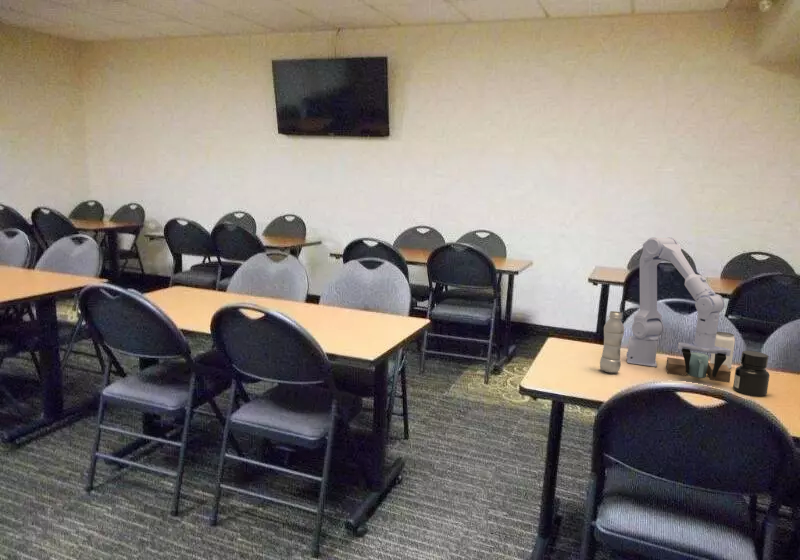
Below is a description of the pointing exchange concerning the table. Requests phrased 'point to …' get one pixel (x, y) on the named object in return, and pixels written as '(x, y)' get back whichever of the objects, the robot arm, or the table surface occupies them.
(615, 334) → the plastic bottle
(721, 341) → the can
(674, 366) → the rack
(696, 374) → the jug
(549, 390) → the table surface
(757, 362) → the ink bottle
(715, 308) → the robot arm
